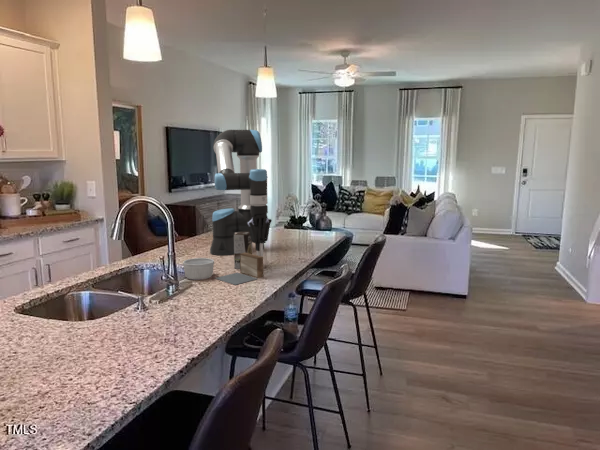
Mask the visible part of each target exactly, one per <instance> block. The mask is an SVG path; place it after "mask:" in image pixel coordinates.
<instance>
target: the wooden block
mask: <svg viewBox="0 0 600 450" xmlns="http://www.w3.org/2000/svg"><path fill="white" fill-rule="evenodd" d="M239 270H240V272H239V273H241V274H244V275H248V276H251V277H254V278H258V279H261V278H264V256H263V257H262V256H258V255H257V254H253V253H252V254H249V253H241V254H240V269H239Z"/></svg>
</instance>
